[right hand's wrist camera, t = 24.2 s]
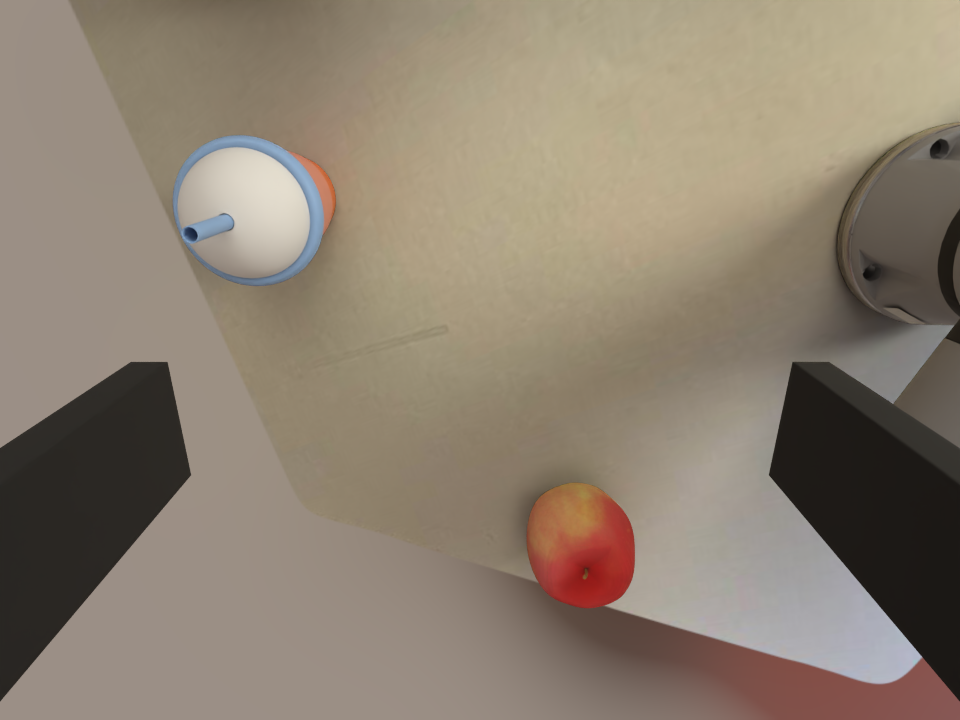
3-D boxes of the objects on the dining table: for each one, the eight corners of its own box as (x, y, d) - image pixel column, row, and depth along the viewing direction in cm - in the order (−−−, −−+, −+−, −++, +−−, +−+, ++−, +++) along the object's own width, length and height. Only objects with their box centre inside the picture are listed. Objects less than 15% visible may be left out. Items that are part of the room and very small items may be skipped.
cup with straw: (245, 254, 47) (116, 321, 30) (230, 133, 44) (75, 134, 27) (358, 256, 47) (291, 324, 30) (351, 135, 44) (272, 137, 27)
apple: (639, 485, 55) (671, 557, 46) (589, 559, 58) (610, 640, 49) (548, 447, 54) (562, 513, 44) (503, 525, 57) (507, 602, 47)
